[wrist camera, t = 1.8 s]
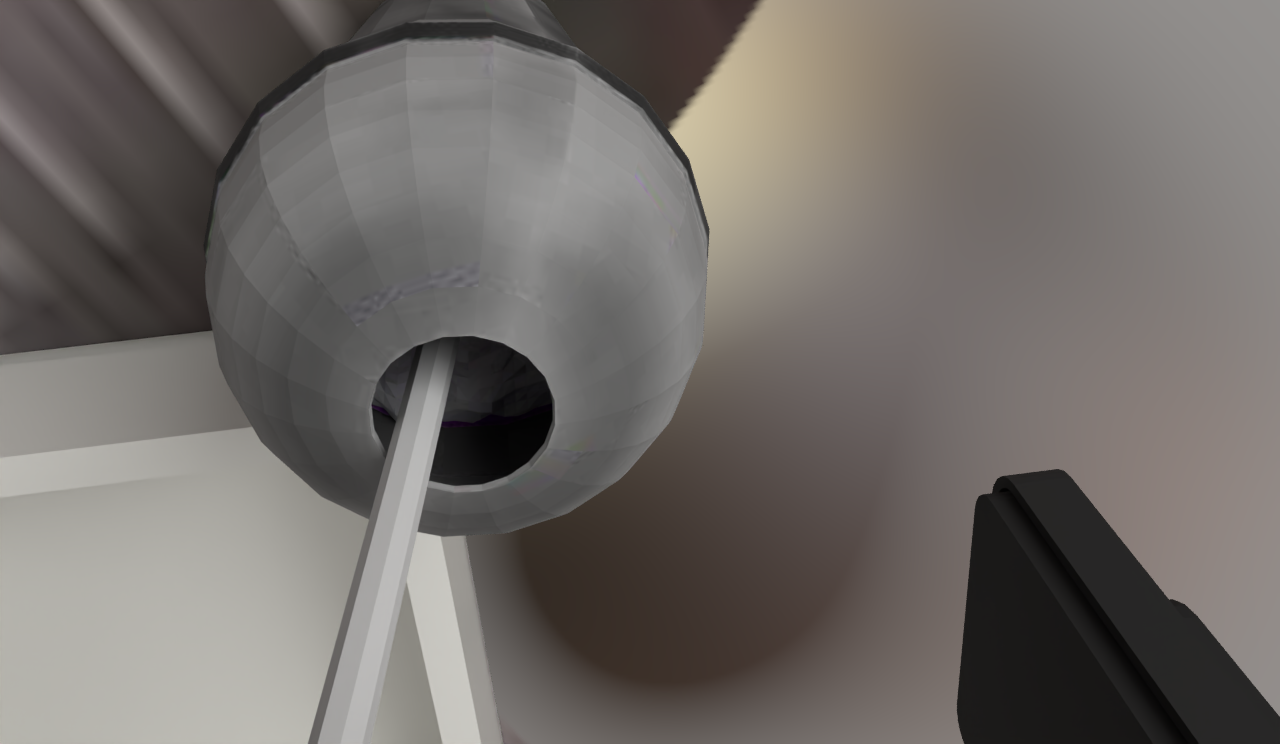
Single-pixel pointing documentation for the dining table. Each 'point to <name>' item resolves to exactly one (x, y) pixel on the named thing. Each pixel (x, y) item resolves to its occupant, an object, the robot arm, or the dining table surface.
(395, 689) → the white bin
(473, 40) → the beverage cup
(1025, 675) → the robot arm
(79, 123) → the dining table surface
